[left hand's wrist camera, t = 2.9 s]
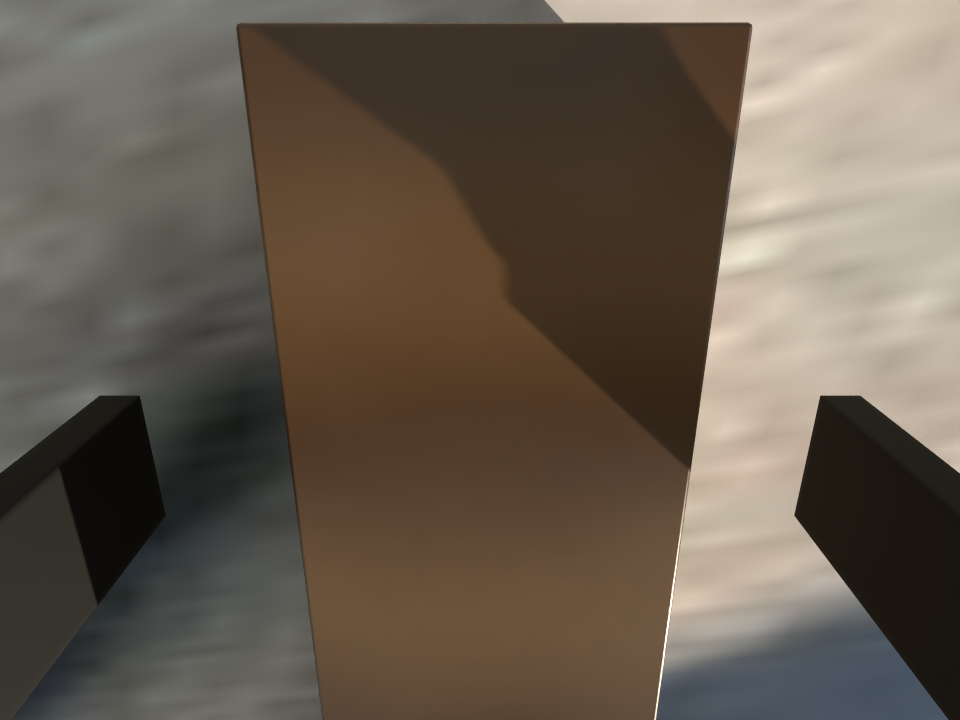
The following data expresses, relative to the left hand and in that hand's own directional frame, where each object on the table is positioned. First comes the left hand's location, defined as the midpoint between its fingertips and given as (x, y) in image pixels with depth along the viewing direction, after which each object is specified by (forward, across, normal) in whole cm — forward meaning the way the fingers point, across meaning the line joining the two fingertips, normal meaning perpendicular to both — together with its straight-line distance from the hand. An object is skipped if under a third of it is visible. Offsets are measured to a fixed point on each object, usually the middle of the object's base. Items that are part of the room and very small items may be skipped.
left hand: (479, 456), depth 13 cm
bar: (+4, 0, -30) cm, 31 cm away
